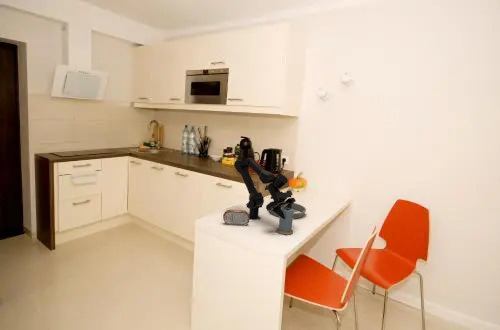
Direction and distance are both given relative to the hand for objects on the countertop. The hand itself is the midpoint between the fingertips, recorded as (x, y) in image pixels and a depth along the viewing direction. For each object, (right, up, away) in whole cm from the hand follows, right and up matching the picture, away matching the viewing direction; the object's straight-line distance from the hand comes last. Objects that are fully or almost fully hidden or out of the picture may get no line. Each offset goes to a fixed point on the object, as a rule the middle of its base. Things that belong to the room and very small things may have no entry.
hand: (288, 217), depth 156 cm
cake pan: (+4, -4, +34) cm, 35 cm away
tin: (-29, -6, +8) cm, 30 cm away
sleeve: (-1, -7, +2) cm, 8 cm away
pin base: (-2, -8, +2) cm, 9 cm away
